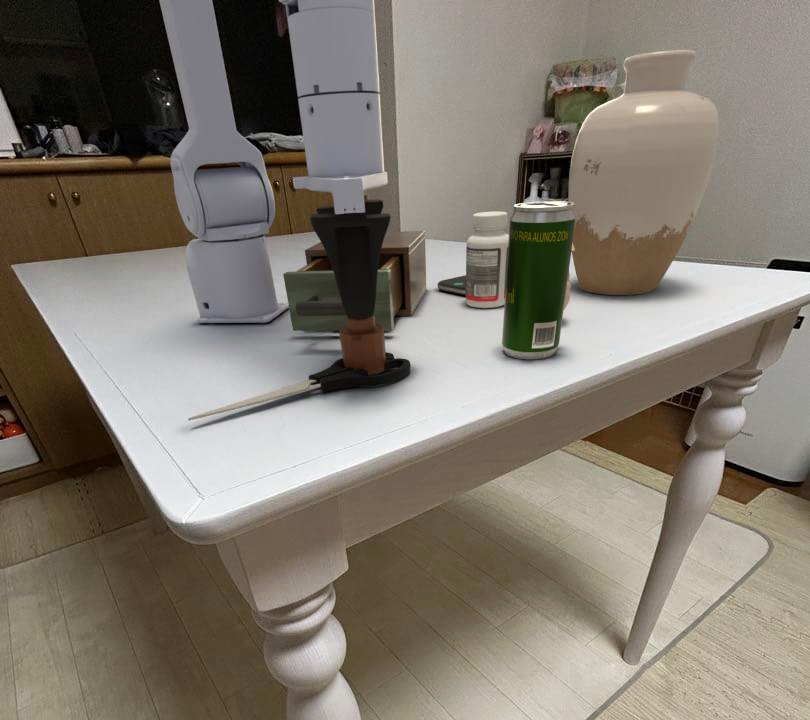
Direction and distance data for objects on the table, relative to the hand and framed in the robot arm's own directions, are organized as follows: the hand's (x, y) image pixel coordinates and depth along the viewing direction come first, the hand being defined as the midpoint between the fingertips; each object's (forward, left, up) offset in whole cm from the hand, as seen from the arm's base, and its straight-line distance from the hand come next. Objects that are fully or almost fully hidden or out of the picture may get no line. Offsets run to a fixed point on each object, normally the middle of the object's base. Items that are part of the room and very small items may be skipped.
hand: (359, 305), depth 44 cm
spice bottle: (0, 0, -5) cm, 5 cm away
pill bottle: (+10, +25, -6) cm, 28 cm away
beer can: (+15, +6, -6) cm, 17 cm away
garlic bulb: (+16, +16, -6) cm, 23 cm away
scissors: (-4, -6, -6) cm, 9 cm away
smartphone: (+10, +36, -6) cm, 38 cm away
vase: (+27, +33, -6) cm, 43 cm away
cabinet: (-5, +26, -6) cm, 27 cm away
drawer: (-5, +14, -5) cm, 16 cm away
